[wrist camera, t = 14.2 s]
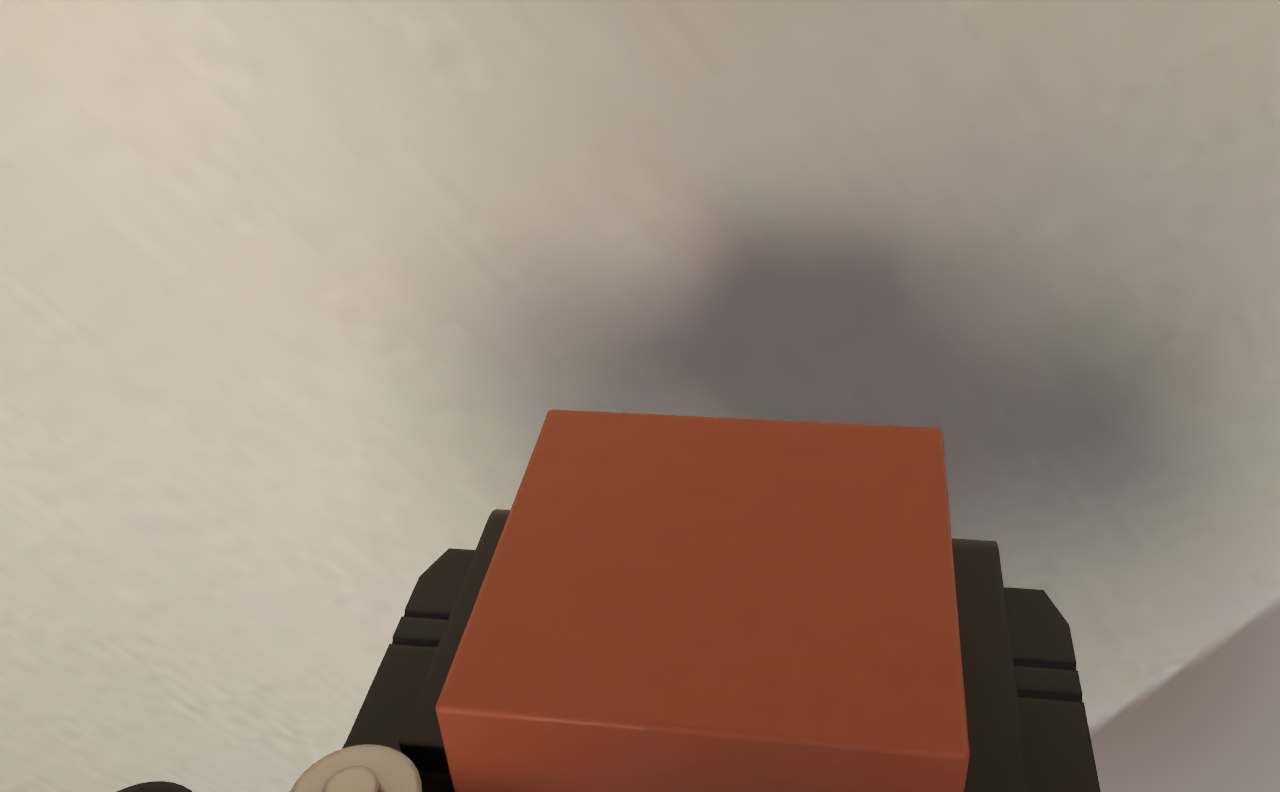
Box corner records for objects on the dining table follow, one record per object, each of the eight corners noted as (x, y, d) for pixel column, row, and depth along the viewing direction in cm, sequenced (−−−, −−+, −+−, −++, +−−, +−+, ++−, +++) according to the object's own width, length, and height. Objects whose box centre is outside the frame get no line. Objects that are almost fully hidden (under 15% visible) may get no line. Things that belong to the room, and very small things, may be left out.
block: (942, 425, 13) (971, 755, 9) (912, 700, 15) (925, 1044, 12) (547, 407, 13) (432, 707, 10) (580, 671, 16) (496, 988, 12)
